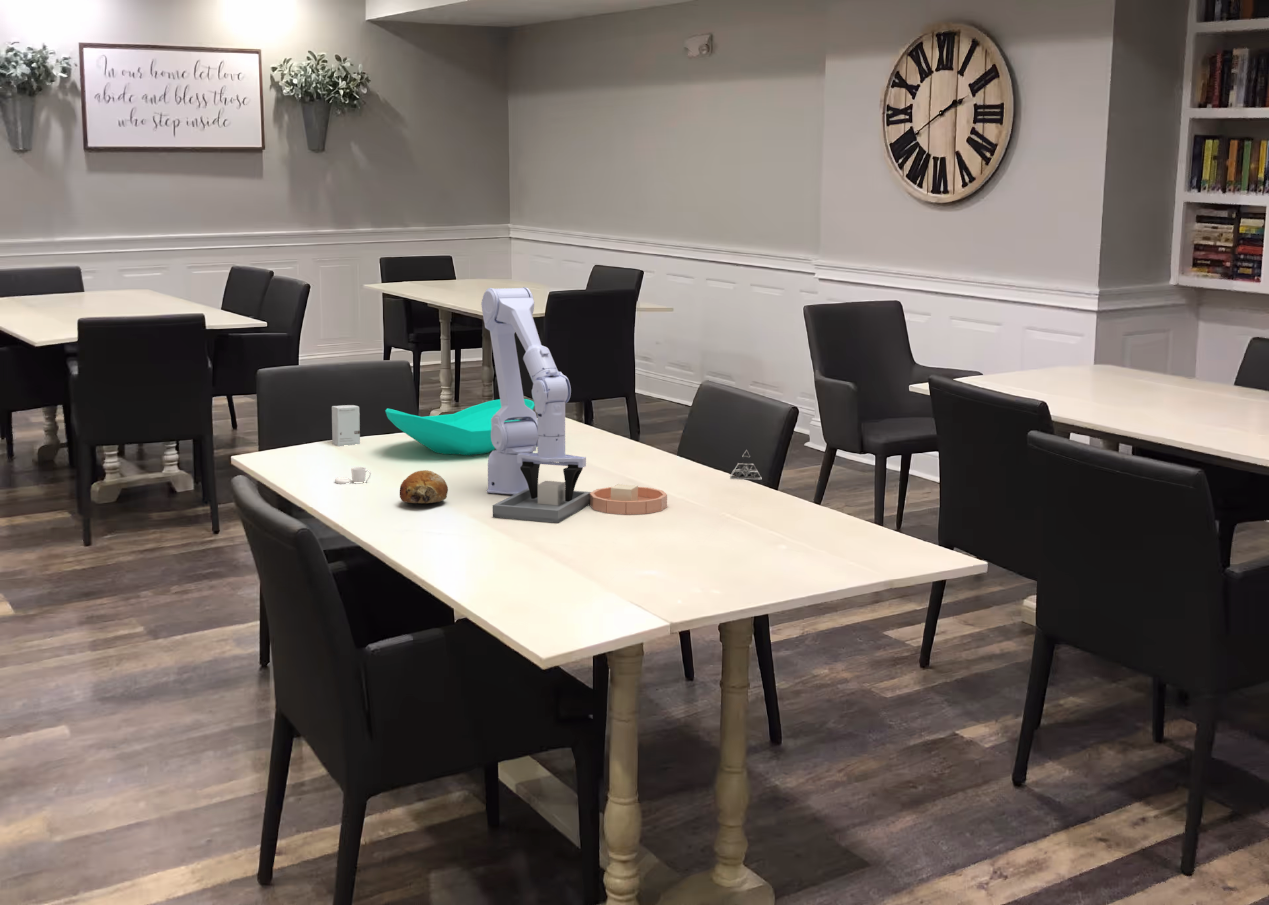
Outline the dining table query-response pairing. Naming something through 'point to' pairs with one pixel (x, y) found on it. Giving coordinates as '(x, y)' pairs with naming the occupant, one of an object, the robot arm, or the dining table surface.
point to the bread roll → (423, 488)
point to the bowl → (629, 502)
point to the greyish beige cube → (551, 492)
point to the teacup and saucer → (354, 476)
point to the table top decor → (453, 428)
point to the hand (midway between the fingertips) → (551, 499)
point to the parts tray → (539, 507)
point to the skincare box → (345, 425)
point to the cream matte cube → (624, 492)
